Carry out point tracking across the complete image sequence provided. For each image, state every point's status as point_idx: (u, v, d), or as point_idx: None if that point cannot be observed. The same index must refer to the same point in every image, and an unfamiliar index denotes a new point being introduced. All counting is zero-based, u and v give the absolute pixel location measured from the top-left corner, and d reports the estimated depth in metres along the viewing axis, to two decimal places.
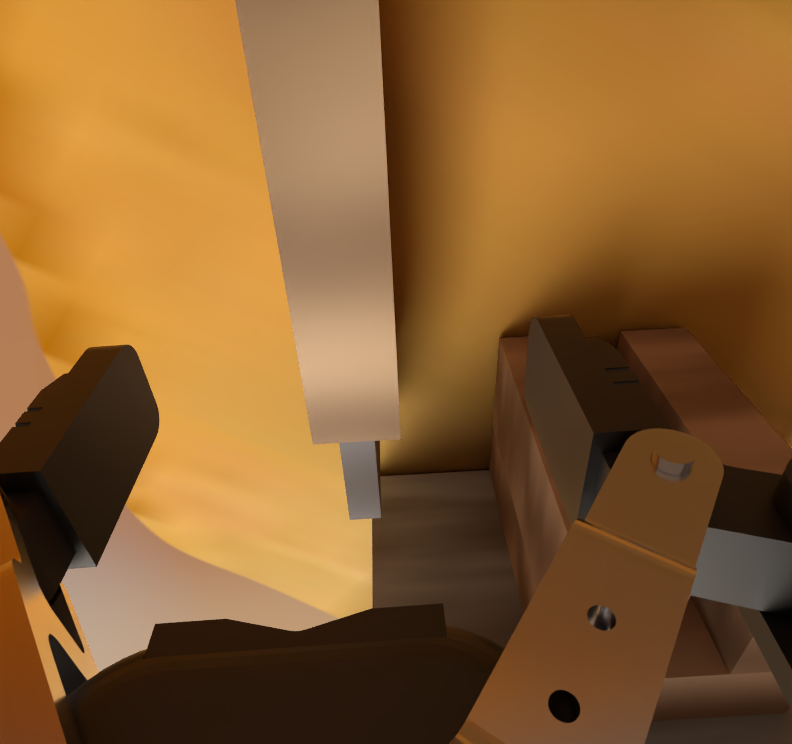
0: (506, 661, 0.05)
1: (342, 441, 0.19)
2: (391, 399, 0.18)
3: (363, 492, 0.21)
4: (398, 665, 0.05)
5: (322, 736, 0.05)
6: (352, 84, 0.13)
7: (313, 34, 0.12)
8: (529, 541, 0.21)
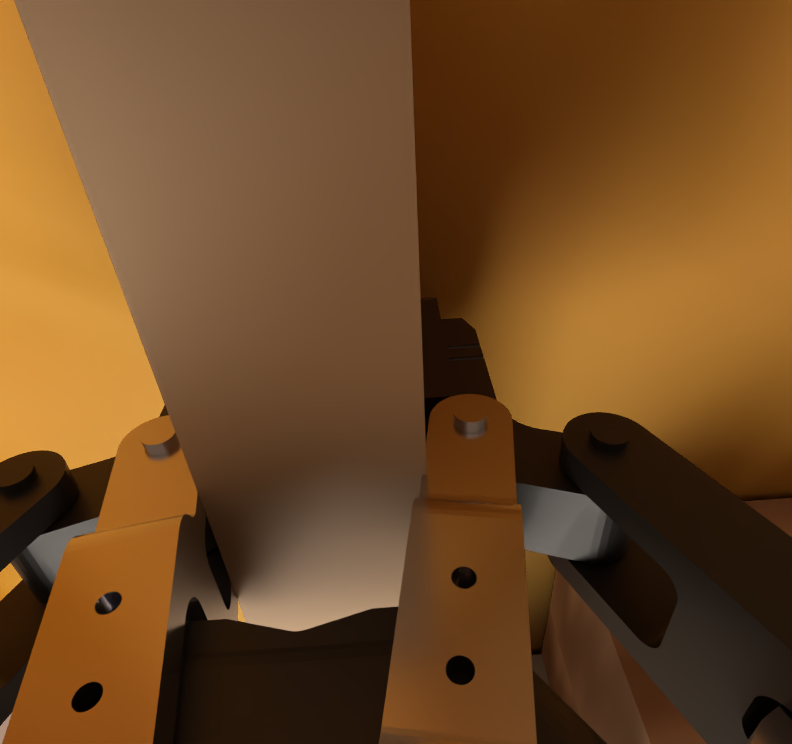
0: (506, 661, 0.05)
1: None
2: None
3: None
4: None
5: (322, 735, 0.05)
6: (352, 285, 0.06)
7: (259, 192, 0.05)
8: None
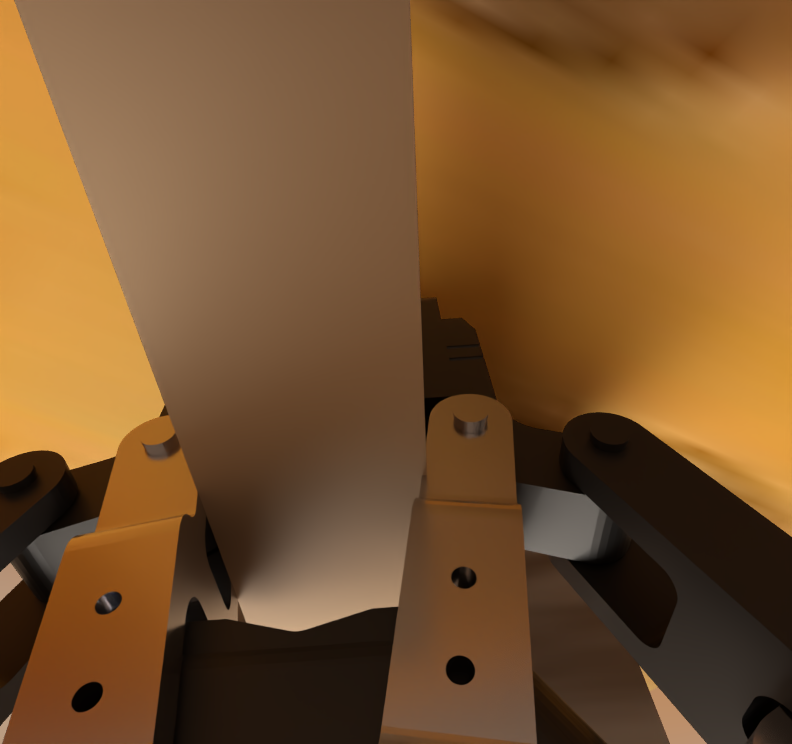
0: (506, 661, 0.05)
1: None
2: None
3: None
4: None
5: (322, 735, 0.05)
6: (354, 292, 0.06)
7: (262, 200, 0.05)
8: None
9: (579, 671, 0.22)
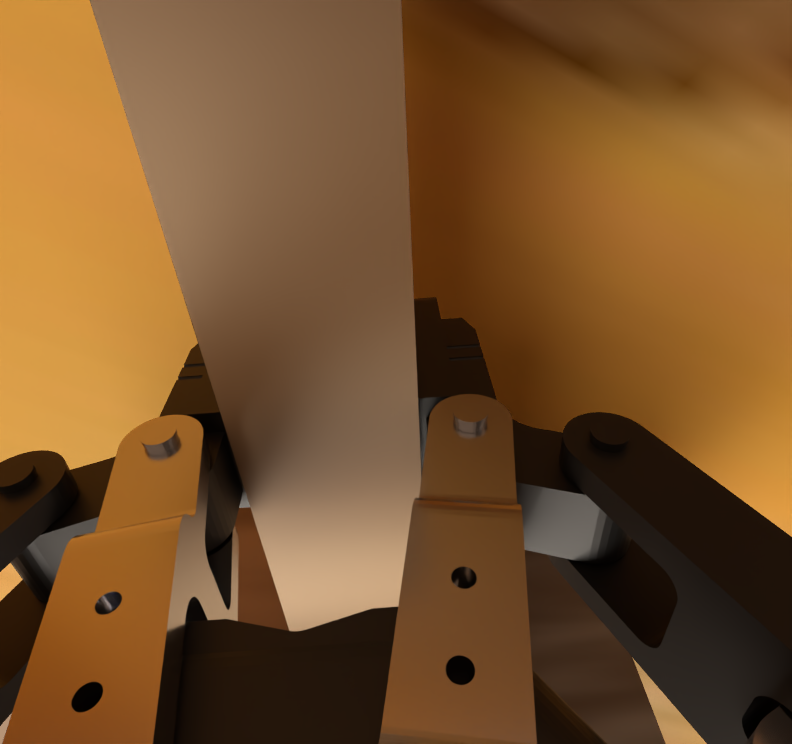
0: (506, 661, 0.05)
1: None
2: None
3: None
4: None
5: (322, 735, 0.05)
6: (356, 238, 0.07)
7: (281, 161, 0.06)
8: None
9: None
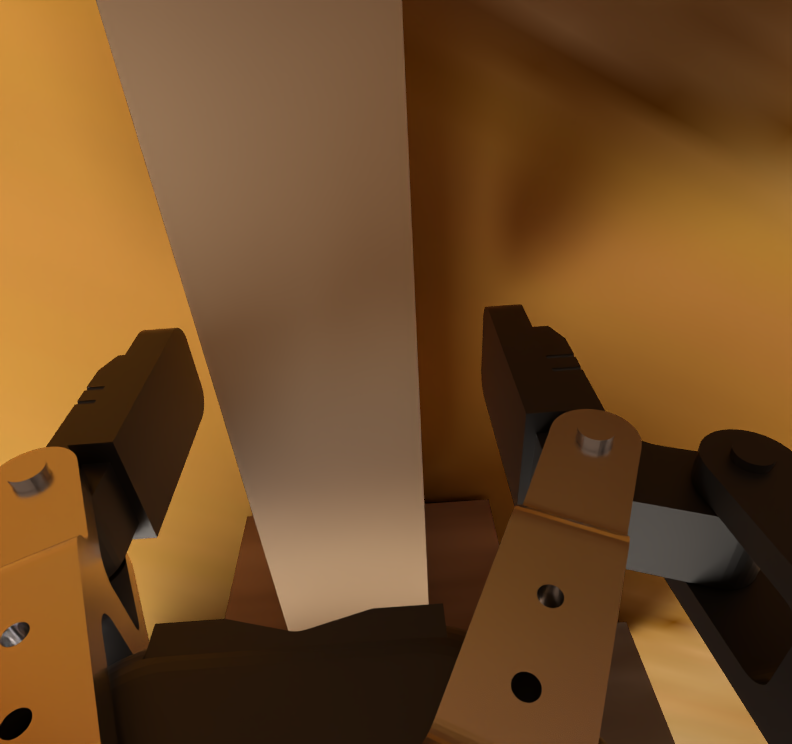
0: (506, 661, 0.05)
1: None
2: None
3: None
4: (398, 665, 0.05)
5: (322, 735, 0.05)
6: (357, 234, 0.07)
7: (282, 154, 0.06)
8: None
9: None
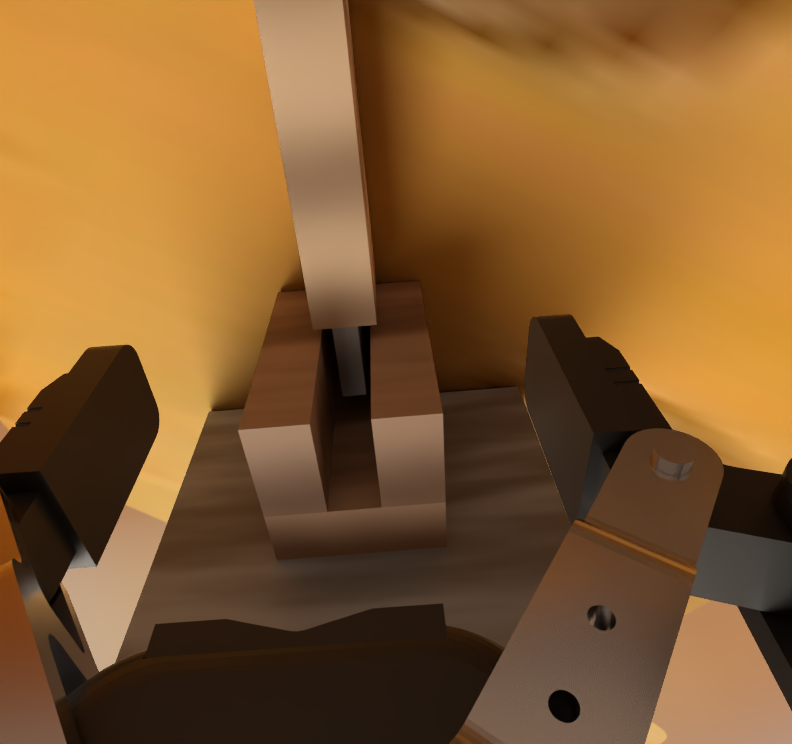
0: (506, 661, 0.05)
1: (334, 327, 0.26)
2: (367, 291, 0.25)
3: (351, 372, 0.28)
4: (398, 665, 0.05)
5: (322, 736, 0.05)
6: (329, 60, 0.20)
7: (304, 29, 0.20)
8: None
9: (531, 562, 0.25)
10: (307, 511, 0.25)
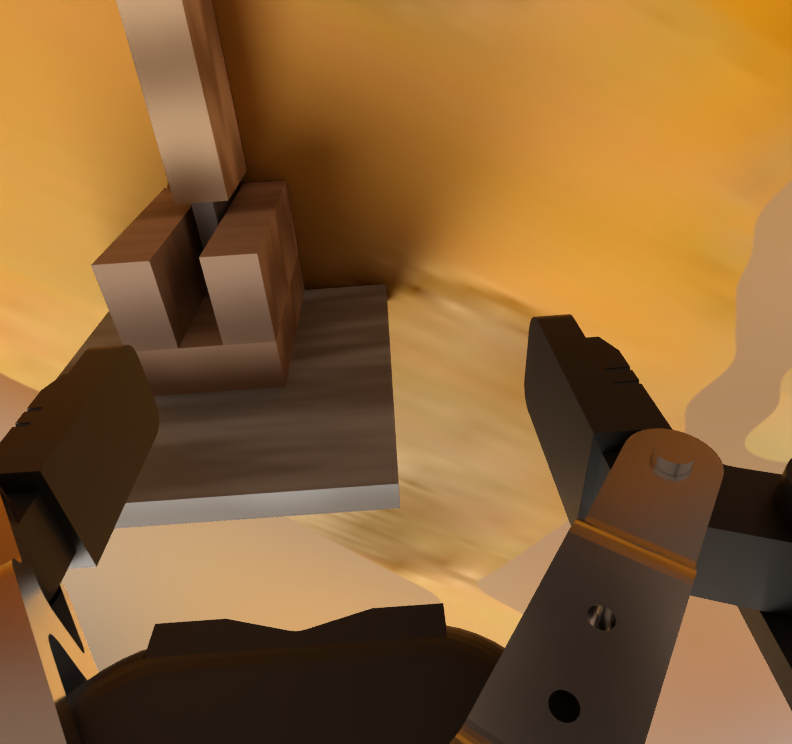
0: (506, 661, 0.05)
1: (192, 202, 0.32)
2: (216, 168, 0.31)
3: None
4: (398, 665, 0.05)
5: (322, 736, 0.05)
6: None
7: None
8: None
9: (349, 395, 0.31)
10: (161, 348, 0.30)
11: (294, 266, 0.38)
